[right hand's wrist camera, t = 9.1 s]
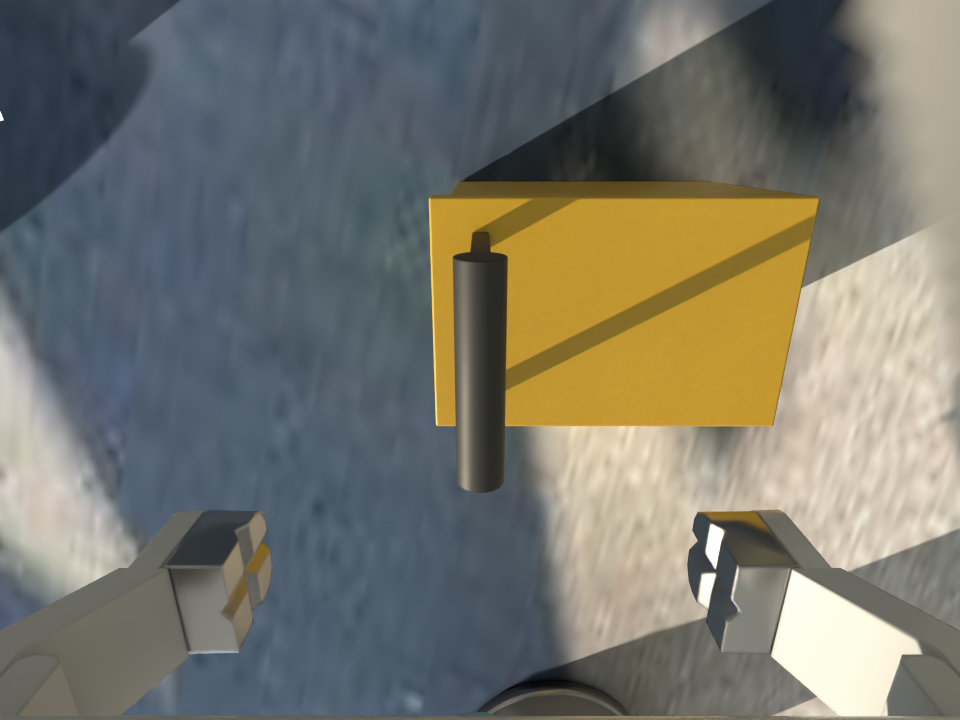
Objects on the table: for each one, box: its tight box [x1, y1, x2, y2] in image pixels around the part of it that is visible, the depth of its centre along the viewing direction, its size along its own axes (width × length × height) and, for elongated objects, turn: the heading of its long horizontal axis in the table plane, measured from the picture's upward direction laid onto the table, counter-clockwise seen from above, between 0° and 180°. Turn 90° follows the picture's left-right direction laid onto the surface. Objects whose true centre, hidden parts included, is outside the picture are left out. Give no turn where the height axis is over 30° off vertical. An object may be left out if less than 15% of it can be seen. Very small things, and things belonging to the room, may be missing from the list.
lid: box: [429, 195, 820, 493], centre depth 22 cm, size 16×10×8 cm, turn 90°
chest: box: [450, 181, 801, 195], centre depth 31 cm, size 15×10×11 cm
